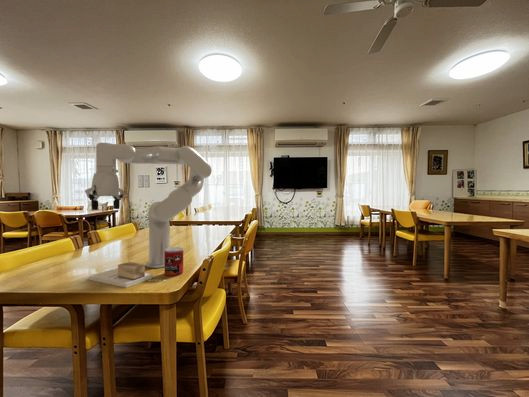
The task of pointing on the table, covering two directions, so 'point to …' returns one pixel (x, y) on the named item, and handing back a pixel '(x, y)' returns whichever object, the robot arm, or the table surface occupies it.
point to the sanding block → (131, 270)
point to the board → (117, 278)
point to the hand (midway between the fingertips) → (106, 209)
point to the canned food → (173, 261)
